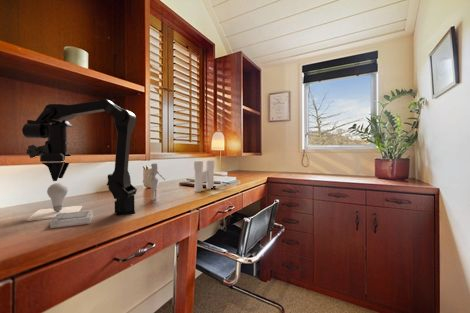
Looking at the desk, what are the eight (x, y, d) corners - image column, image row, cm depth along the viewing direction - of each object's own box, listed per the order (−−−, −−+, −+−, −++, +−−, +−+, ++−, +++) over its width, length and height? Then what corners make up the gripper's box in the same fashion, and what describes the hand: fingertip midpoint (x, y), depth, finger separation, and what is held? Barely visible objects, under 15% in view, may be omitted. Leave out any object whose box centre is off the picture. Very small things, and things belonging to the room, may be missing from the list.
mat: (82, 207, 94) (82, 205, 94) (76, 215, 82) (76, 214, 82) (39, 211, 88) (39, 209, 88) (26, 221, 75) (26, 219, 75)
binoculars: (209, 187, 147) (209, 160, 146) (215, 188, 144) (216, 160, 143) (192, 191, 132) (192, 161, 131) (199, 192, 129) (199, 161, 128)
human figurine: (162, 197, 114) (162, 162, 113) (167, 198, 111) (167, 163, 111) (140, 201, 104) (140, 163, 104) (144, 203, 102) (144, 164, 101)
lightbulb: (45, 211, 84) (45, 183, 84) (65, 208, 89) (65, 181, 89) (49, 214, 80) (49, 184, 80) (69, 211, 85) (69, 183, 85)
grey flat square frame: (93, 215, 83) (93, 209, 83) (90, 223, 74) (90, 217, 74) (58, 219, 78) (58, 213, 78) (50, 228, 69) (50, 222, 69)
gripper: (37, 138, 89) (38, 177, 89) (19, 136, 72) (20, 184, 73) (71, 139, 94) (72, 176, 94) (62, 137, 77) (62, 182, 78)
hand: (57, 179), depth 85 cm, fingers open, 9 cm apart
